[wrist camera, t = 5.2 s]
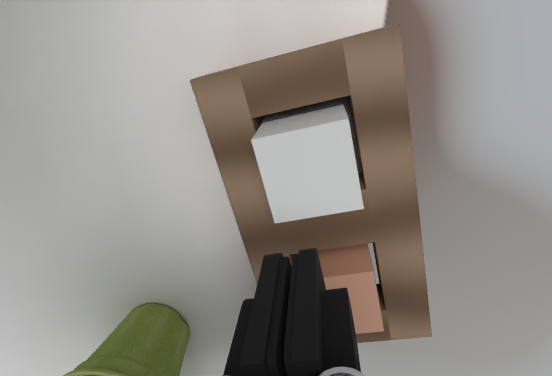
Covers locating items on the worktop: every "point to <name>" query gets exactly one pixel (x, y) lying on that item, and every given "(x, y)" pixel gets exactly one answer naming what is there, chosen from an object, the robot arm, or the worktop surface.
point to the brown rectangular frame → (371, 151)
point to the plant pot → (141, 346)
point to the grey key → (308, 165)
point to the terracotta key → (354, 283)
